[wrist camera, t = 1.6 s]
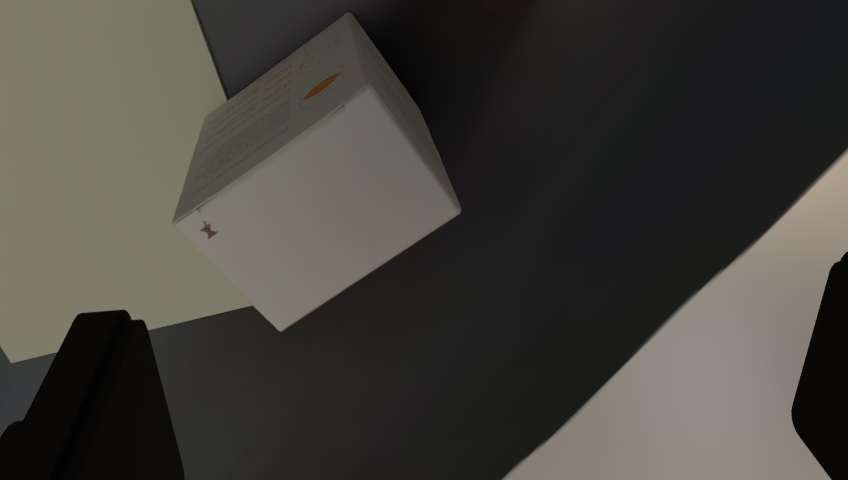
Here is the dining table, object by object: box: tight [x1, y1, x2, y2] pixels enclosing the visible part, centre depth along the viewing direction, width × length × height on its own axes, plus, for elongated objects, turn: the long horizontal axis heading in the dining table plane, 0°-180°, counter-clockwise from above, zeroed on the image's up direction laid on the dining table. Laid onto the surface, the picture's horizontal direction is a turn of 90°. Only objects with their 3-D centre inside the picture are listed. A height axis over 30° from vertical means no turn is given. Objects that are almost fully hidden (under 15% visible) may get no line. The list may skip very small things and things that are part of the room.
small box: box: [172, 12, 461, 331], centre depth 29 cm, size 8×6×10 cm
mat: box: [0, 0, 252, 363], centre depth 34 cm, size 15×18×1 cm
